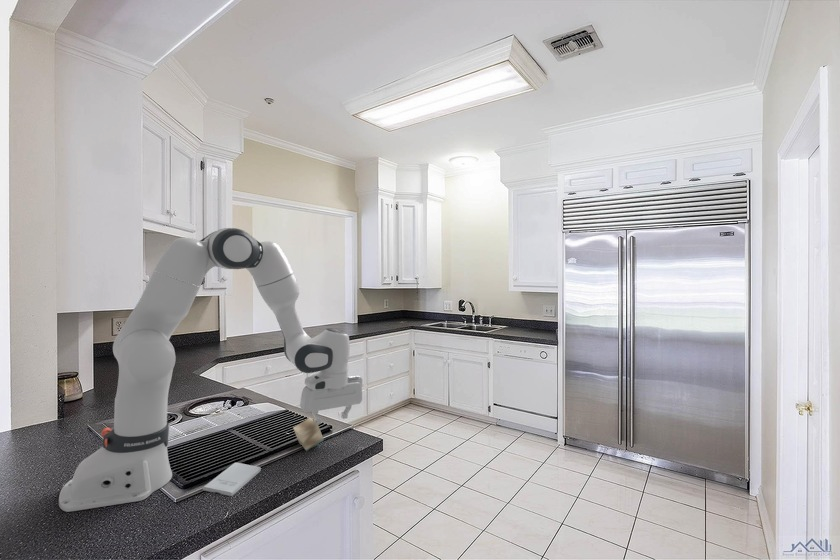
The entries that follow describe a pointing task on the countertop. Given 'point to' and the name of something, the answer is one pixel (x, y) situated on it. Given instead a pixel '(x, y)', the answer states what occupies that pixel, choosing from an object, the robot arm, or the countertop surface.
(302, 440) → the maple cube
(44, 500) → the countertop surface
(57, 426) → the countertop surface
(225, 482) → the external hard drive
